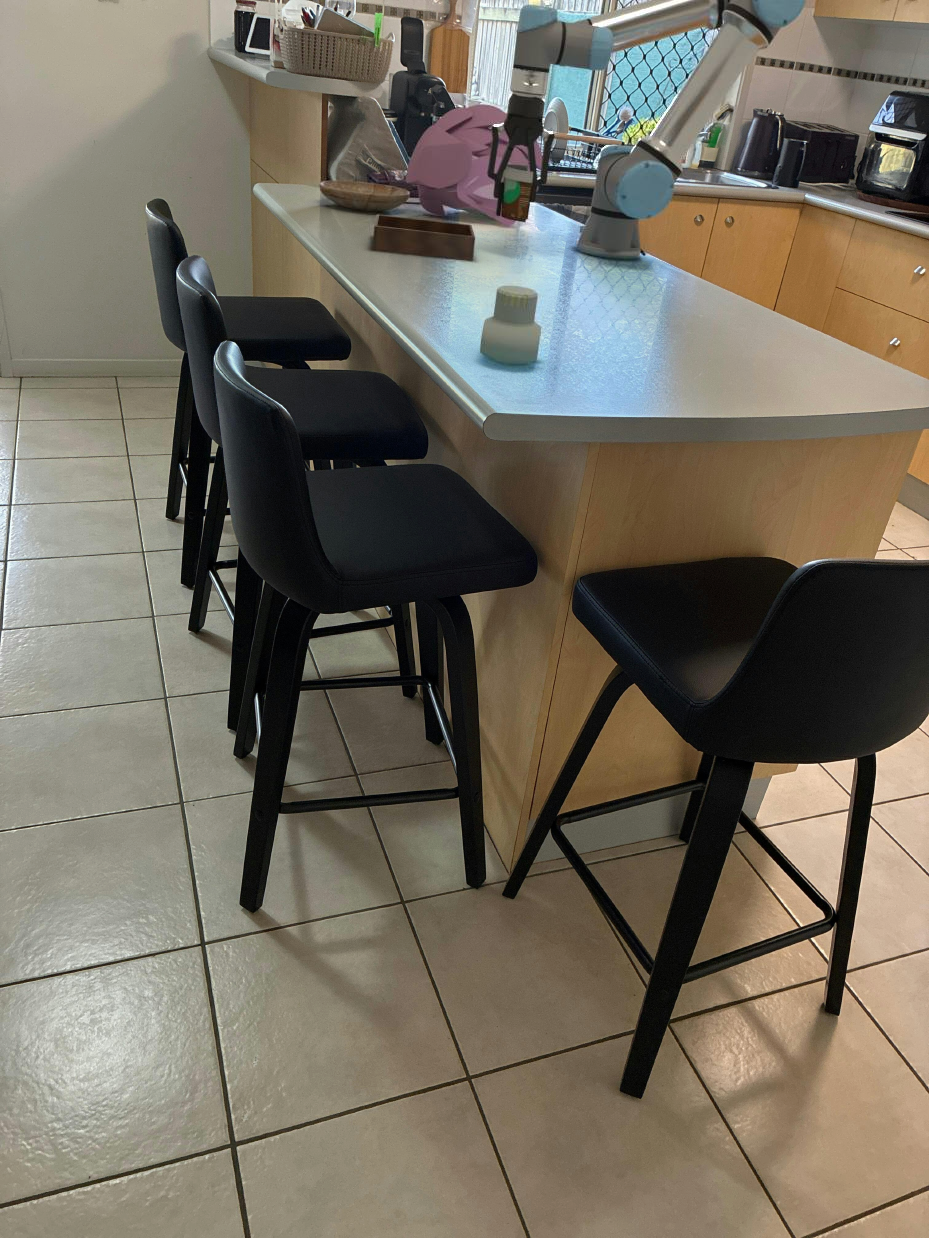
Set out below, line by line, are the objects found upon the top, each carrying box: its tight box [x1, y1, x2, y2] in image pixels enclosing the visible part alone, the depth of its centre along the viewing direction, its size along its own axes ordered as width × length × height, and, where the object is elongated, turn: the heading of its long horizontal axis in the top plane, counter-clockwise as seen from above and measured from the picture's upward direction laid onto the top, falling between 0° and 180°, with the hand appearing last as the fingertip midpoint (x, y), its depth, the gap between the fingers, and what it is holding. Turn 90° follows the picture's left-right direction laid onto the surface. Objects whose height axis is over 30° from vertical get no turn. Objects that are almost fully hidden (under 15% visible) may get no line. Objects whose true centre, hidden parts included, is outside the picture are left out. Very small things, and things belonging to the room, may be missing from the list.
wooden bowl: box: [318, 179, 410, 212], centre depth 237 cm, size 23×24×5 cm
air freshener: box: [479, 285, 542, 366], centre depth 132 cm, size 11×8×10 cm
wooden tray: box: [372, 213, 476, 262], centre depth 198 cm, size 21×15×5 cm
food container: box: [501, 164, 533, 223], centre depth 198 cm, size 12×6×10 cm, turn 2°
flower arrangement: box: [405, 103, 543, 228], centre depth 238 cm, size 35×24×28 cm
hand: (511, 216), depth 200 cm, fingers closed on food container, 5 cm apart
